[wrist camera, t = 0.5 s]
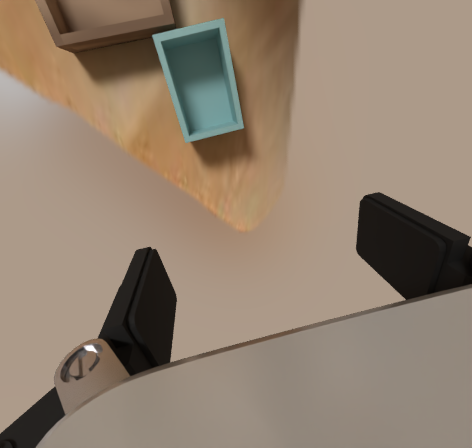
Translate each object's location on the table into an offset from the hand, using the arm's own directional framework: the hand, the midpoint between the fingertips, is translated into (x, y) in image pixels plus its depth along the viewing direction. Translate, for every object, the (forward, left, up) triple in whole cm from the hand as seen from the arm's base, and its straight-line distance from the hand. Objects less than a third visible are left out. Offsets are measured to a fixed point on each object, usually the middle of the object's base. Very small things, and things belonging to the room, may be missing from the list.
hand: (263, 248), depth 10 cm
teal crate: (-7, 0, -25) cm, 26 cm away
